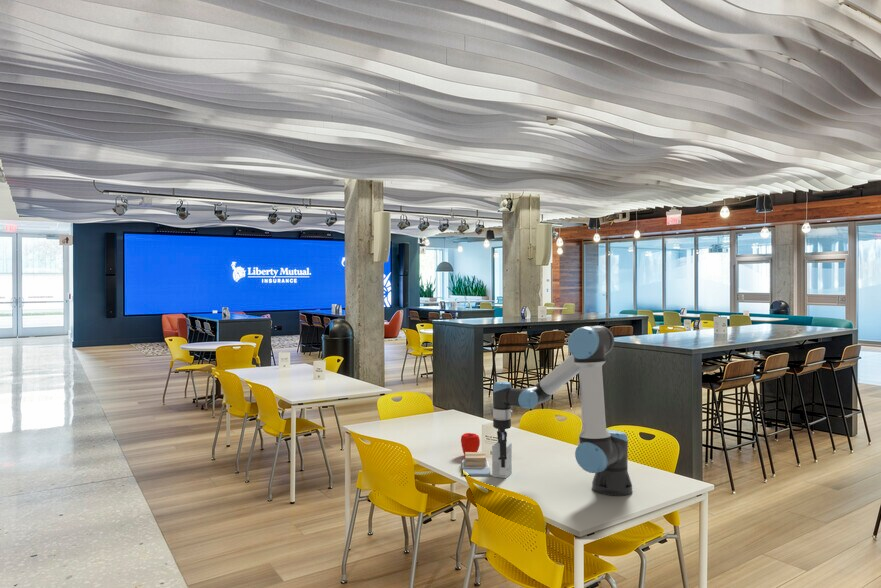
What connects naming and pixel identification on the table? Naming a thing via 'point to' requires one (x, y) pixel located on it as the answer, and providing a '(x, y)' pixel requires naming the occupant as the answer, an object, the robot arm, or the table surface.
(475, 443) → the apple
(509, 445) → the small box
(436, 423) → the table surface
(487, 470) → the board
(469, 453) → the plinth
